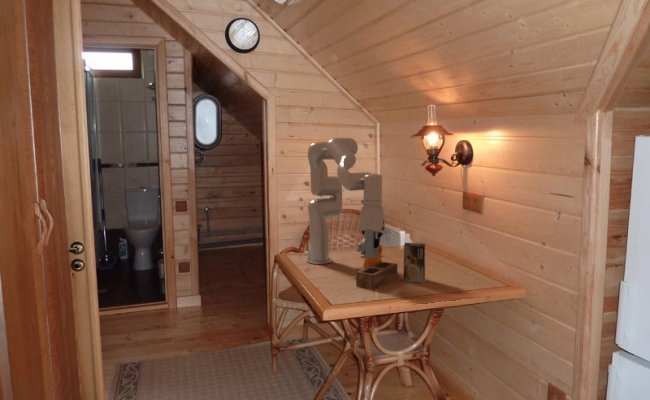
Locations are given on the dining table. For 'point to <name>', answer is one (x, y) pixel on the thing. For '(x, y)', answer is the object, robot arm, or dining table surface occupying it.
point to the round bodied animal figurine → (361, 246)
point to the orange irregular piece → (373, 259)
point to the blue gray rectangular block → (371, 244)
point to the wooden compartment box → (376, 275)
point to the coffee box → (414, 262)
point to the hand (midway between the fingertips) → (372, 246)
